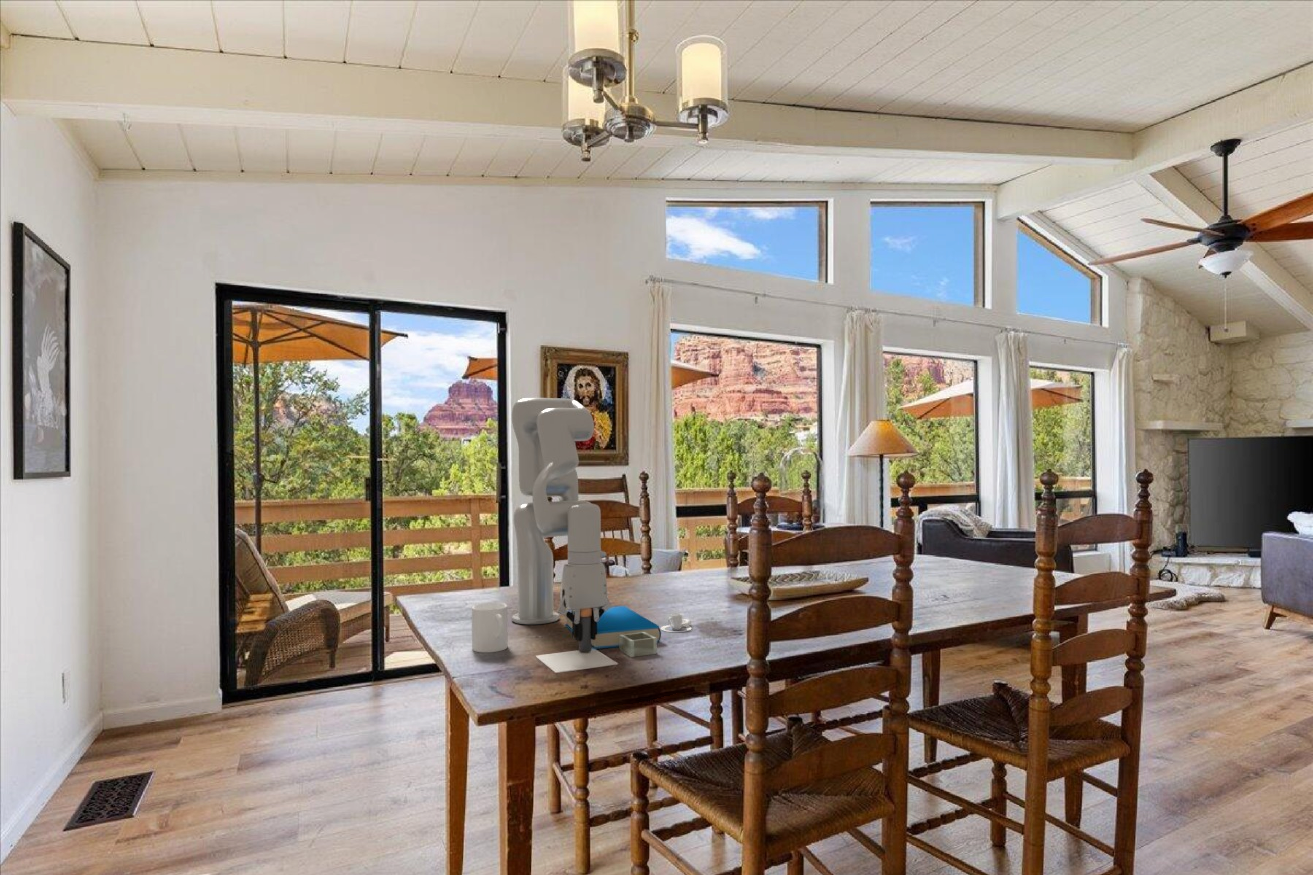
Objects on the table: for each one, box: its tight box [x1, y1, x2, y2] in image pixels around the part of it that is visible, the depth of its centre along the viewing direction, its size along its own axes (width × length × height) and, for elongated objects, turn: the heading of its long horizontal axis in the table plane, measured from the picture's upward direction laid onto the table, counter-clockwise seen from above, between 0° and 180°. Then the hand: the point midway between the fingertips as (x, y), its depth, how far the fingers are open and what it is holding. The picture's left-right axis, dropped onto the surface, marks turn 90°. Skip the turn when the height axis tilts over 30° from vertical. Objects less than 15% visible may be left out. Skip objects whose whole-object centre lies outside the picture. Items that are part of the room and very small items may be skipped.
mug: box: [471, 602, 509, 654], centre depth 179 cm, size 8×12×10 cm, turn 32°
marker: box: [578, 609, 592, 652], centre depth 176 cm, size 3×3×10 cm
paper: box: [534, 647, 619, 674], centre depth 169 cm, size 14×14×1 cm
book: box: [564, 605, 662, 650], centre depth 193 cm, size 17×4×25 cm
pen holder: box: [618, 632, 658, 658], centre depth 176 cm, size 6×6×4 cm
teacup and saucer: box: [660, 612, 692, 633], centre depth 198 cm, size 9×8×4 cm
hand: (584, 638), depth 176 cm, fingers closed on marker, 2 cm apart
